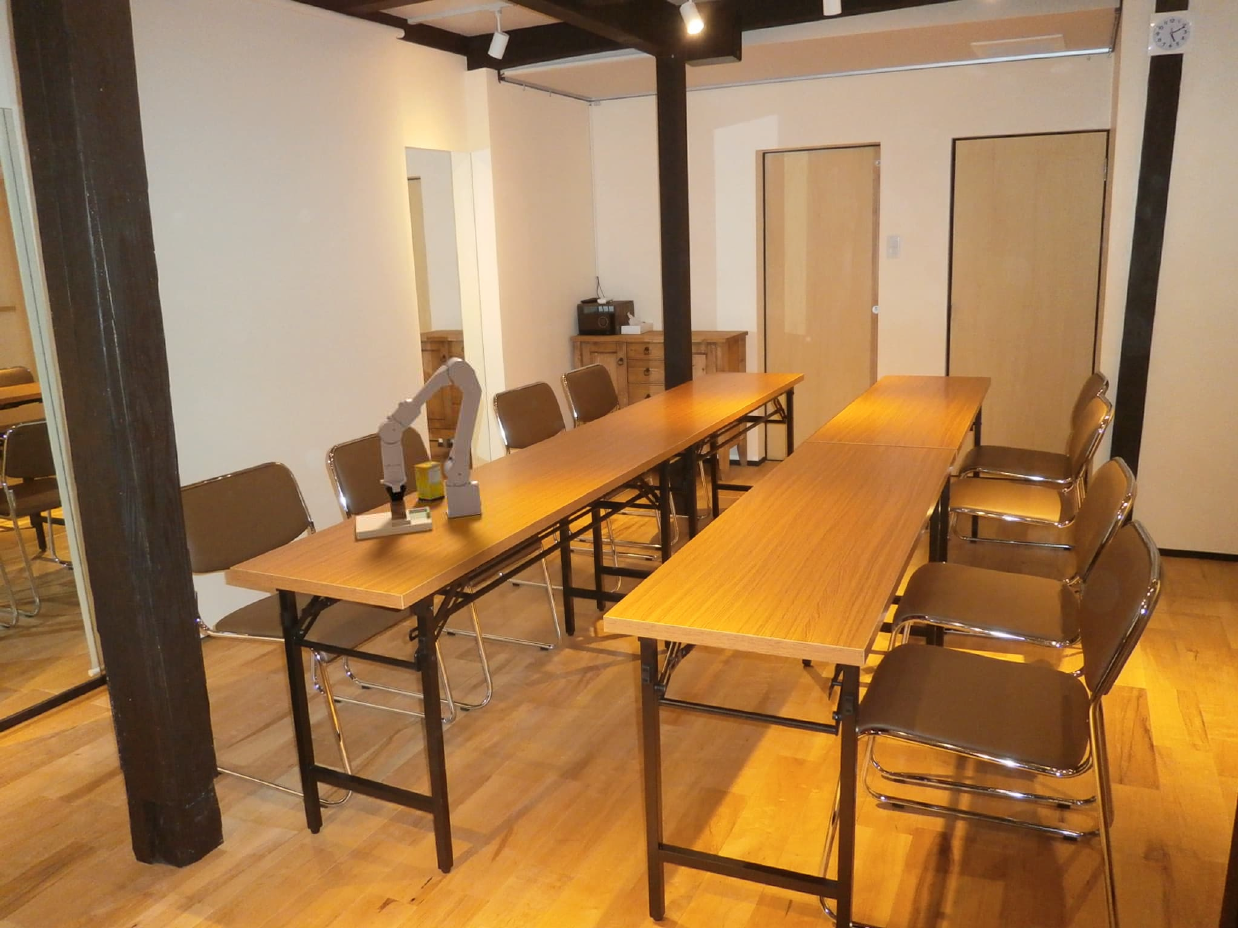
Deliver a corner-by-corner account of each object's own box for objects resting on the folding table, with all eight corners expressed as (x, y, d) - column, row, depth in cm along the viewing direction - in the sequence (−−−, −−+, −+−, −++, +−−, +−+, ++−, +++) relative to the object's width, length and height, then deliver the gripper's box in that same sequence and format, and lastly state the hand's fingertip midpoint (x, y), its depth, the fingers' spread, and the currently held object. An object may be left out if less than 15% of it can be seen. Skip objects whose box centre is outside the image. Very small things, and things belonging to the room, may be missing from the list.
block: (406, 513, 273) (404, 499, 271) (406, 518, 269) (405, 504, 268) (391, 515, 272) (389, 501, 270) (392, 520, 268) (390, 506, 267)
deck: (428, 513, 280) (427, 501, 279) (432, 529, 264) (431, 516, 263) (357, 523, 275) (355, 510, 274) (357, 539, 259) (355, 526, 259)
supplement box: (432, 495, 300) (428, 460, 298) (445, 497, 297) (441, 462, 294) (417, 500, 296) (413, 465, 293) (430, 502, 292) (426, 467, 290)
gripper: (378, 459, 275) (383, 506, 278) (378, 470, 261) (384, 519, 264) (403, 457, 277) (408, 503, 280) (405, 468, 263) (410, 516, 266)
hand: (398, 510), depth 272 cm, fingers closed, pressing on block
